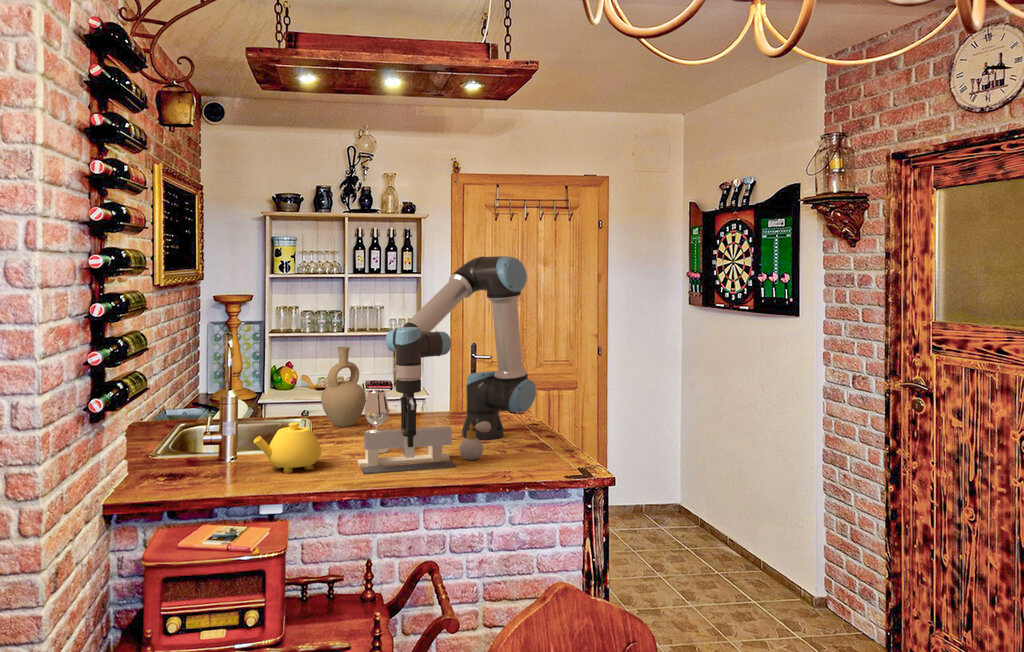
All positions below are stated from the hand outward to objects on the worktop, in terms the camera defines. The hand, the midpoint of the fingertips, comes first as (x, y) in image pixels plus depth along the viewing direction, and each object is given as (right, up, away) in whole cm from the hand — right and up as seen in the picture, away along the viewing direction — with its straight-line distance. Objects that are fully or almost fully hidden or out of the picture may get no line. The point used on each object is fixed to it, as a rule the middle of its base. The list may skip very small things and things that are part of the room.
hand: (408, 455), depth 237 cm
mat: (0, -4, 0) cm, 4 cm away
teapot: (-36, -4, -1) cm, 36 cm away
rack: (-3, -3, +8) cm, 9 cm away
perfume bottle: (+19, -3, +12) cm, 23 cm away
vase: (-33, +1, +63) cm, 71 cm away
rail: (0, +3, 0) cm, 3 cm away
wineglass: (-13, -2, +22) cm, 26 cm away
